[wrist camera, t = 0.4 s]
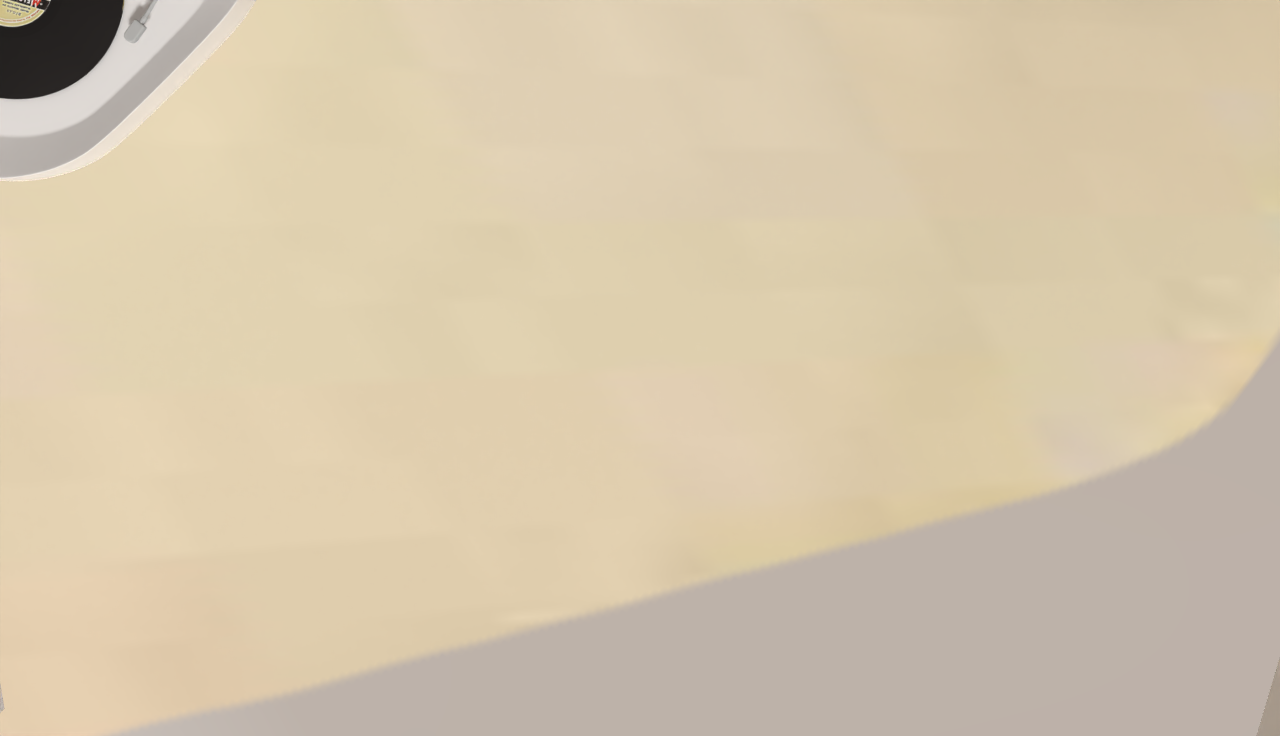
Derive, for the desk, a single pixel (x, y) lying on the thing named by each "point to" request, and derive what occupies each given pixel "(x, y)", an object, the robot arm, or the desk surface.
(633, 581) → the desk surface
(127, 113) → the record player
